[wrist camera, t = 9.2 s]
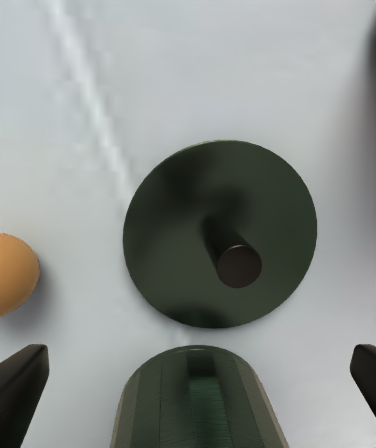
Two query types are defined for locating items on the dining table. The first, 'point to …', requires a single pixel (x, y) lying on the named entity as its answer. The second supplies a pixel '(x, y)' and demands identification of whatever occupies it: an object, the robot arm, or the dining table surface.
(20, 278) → the brown egg
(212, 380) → the bin
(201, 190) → the bin lid
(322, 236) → the dining table surface
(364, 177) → the dining table surface
